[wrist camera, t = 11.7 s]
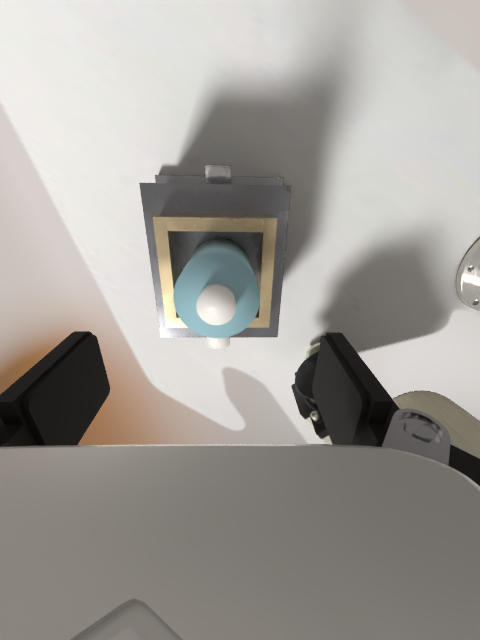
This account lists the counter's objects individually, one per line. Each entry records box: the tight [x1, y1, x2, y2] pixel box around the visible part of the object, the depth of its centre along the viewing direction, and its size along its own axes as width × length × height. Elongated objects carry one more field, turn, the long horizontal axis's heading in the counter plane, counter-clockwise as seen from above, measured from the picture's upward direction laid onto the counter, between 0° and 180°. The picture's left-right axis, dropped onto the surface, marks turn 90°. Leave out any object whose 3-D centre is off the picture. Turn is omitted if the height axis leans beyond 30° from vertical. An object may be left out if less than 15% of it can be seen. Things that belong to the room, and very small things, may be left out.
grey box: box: [140, 165, 291, 338], centre depth 27 cm, size 14×17×12 cm
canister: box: [393, 391, 480, 459], centre depth 37 cm, size 18×18×21 cm
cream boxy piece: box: [292, 342, 332, 444], centre depth 33 cm, size 18×8×18 cm, turn 38°
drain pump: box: [173, 239, 260, 349], centre depth 20 cm, size 6×7×9 cm
